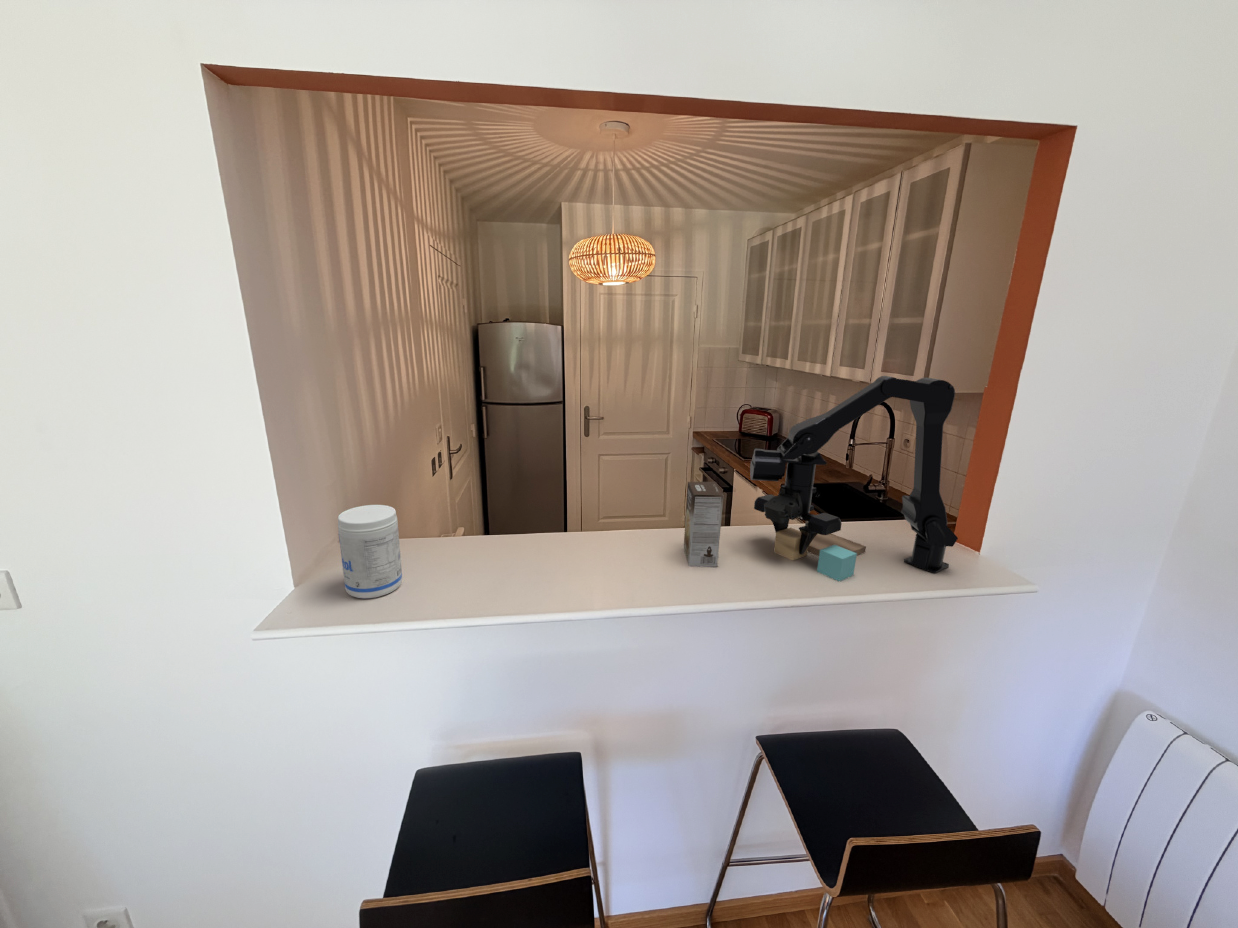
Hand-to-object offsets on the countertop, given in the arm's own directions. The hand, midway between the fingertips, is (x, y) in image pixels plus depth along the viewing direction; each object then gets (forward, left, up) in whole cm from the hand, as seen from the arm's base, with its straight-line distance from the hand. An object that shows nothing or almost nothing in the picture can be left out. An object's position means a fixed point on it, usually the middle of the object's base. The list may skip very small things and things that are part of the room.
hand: (790, 549), depth 109 cm
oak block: (0, 0, -1) cm, 1 cm away
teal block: (0, +11, -1) cm, 11 cm away
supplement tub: (+80, -31, -1) cm, 86 cm away
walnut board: (-10, +3, -2) cm, 11 cm away
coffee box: (+19, -9, -1) cm, 21 cm away
